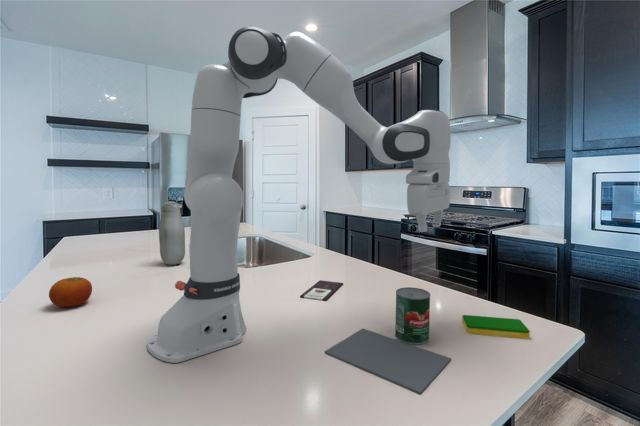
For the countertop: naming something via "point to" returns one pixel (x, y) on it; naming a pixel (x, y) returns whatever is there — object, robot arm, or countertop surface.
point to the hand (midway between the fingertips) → (429, 229)
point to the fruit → (70, 292)
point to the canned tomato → (412, 315)
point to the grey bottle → (171, 234)
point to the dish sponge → (495, 326)
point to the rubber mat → (390, 359)
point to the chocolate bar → (321, 290)
